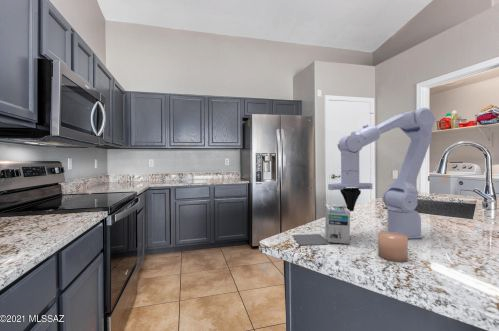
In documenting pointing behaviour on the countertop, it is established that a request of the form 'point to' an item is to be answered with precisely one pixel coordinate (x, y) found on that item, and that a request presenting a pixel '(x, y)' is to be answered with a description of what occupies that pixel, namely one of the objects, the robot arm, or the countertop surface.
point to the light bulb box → (337, 224)
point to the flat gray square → (310, 239)
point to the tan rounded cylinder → (393, 246)
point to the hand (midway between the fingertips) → (350, 210)
